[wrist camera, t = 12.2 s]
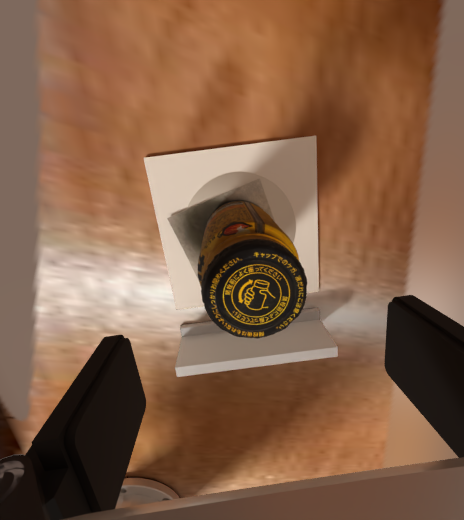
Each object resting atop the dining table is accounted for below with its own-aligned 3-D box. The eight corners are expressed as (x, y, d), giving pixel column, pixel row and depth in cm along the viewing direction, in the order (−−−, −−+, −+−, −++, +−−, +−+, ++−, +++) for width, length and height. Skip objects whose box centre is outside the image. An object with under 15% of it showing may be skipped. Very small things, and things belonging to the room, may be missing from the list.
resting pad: (317, 289, 27) (319, 292, 27) (177, 307, 27) (176, 310, 27) (314, 136, 22) (316, 135, 22) (144, 157, 22) (143, 157, 22)
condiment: (286, 254, 25) (341, 328, 14) (202, 287, 26) (189, 384, 15) (259, 178, 23) (297, 192, 12) (167, 217, 24) (119, 266, 12)
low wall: (318, 332, 29) (337, 365, 24) (185, 349, 29) (179, 386, 24) (317, 307, 28) (337, 337, 23) (180, 325, 28) (172, 358, 23)
